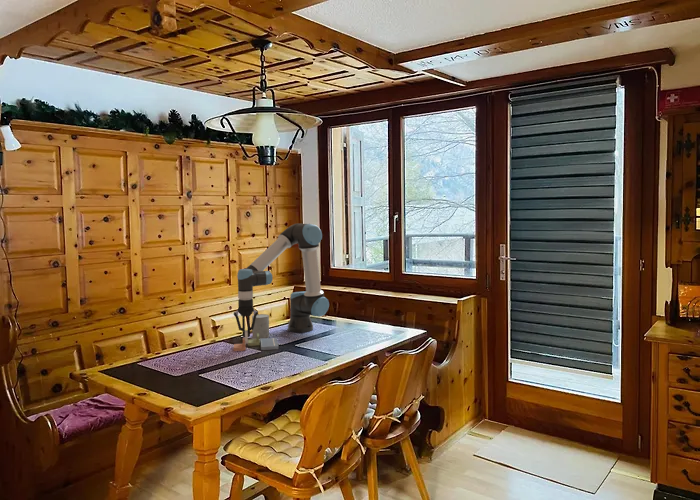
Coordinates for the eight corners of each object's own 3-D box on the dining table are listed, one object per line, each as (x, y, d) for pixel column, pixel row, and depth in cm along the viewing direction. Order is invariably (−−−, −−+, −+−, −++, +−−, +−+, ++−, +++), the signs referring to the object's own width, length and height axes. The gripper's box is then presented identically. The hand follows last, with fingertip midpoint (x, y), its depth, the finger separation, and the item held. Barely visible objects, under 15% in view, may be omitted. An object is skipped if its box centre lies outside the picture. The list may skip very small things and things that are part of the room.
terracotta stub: (245, 346, 288) (245, 337, 288) (245, 350, 280) (245, 341, 280) (234, 347, 287) (233, 338, 286) (233, 351, 279) (233, 341, 279)
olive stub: (259, 341, 298) (259, 333, 298) (259, 345, 290) (259, 336, 290) (248, 342, 297) (248, 333, 297) (248, 345, 289) (248, 337, 289)
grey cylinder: (271, 335, 313) (270, 314, 312) (266, 339, 303) (266, 317, 302) (254, 334, 314) (254, 314, 313) (250, 339, 304) (249, 317, 303)
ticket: (276, 340, 300) (276, 337, 300) (278, 349, 283) (278, 345, 283) (260, 341, 299) (260, 338, 299) (261, 350, 281) (261, 346, 281)
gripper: (258, 297, 287) (258, 340, 289) (233, 297, 284) (234, 342, 286) (258, 299, 279) (259, 344, 281) (232, 300, 277) (233, 345, 279)
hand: (246, 343), depth 284 cm, fingers closed
